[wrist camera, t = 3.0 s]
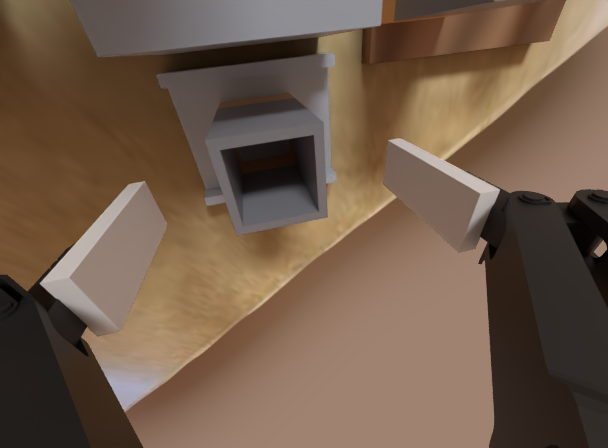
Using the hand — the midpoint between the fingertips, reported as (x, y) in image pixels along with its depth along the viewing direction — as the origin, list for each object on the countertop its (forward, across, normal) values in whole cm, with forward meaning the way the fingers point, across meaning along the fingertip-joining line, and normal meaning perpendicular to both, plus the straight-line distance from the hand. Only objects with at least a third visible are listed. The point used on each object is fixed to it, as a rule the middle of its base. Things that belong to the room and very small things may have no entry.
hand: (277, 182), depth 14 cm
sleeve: (+9, 0, 0) cm, 9 cm away
